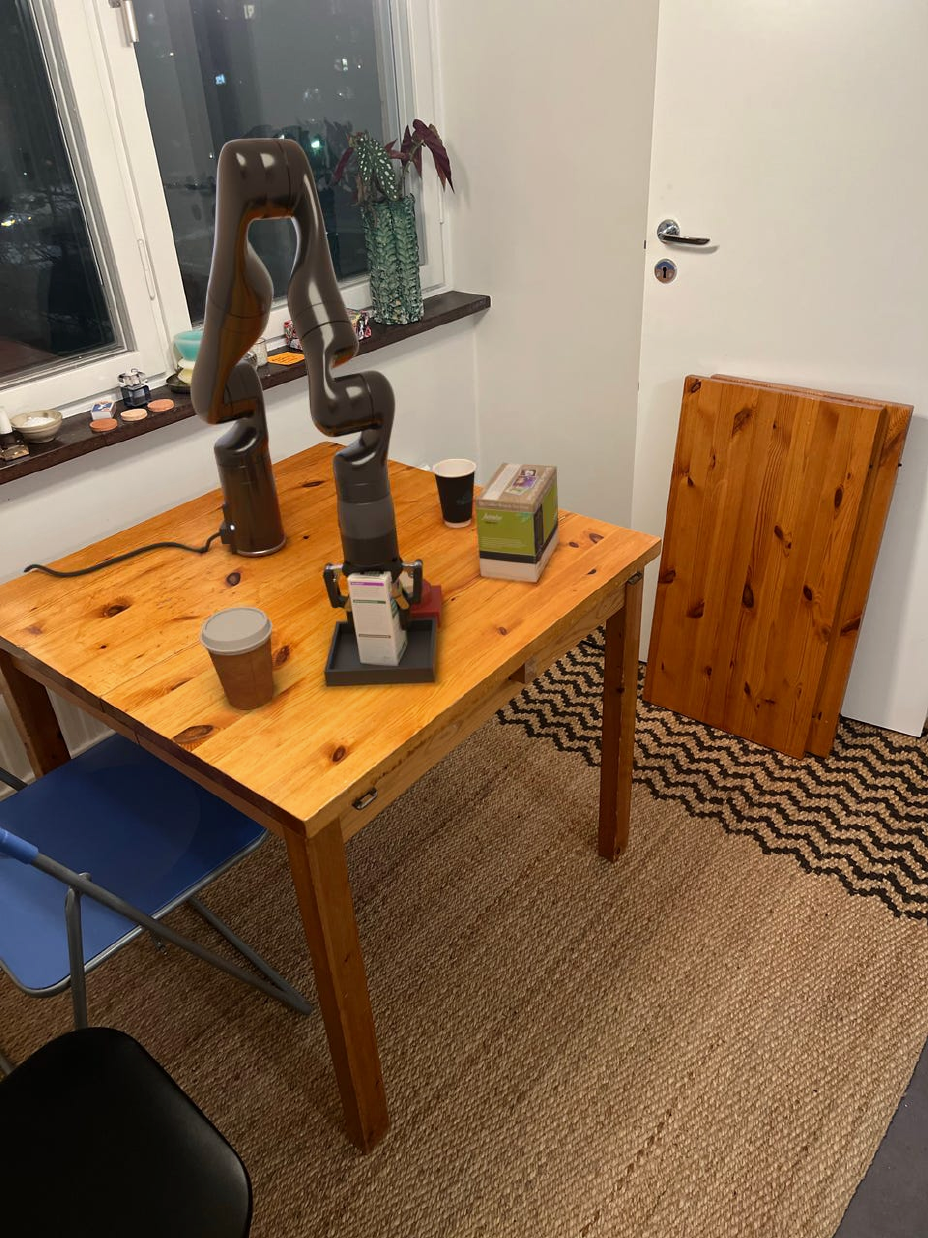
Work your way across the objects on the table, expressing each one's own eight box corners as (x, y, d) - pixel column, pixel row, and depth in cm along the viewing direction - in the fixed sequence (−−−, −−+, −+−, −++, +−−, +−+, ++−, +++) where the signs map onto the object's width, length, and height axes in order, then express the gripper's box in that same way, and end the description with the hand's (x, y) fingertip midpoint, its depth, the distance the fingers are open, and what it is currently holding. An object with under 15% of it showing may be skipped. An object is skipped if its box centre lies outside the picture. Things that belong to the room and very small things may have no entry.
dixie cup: (473, 532, 166) (469, 476, 160) (431, 529, 168) (426, 474, 162) (483, 514, 172) (480, 459, 167) (443, 511, 174) (439, 457, 168)
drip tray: (326, 687, 128) (324, 672, 127) (338, 635, 139) (336, 621, 138) (434, 682, 127) (433, 667, 126) (437, 631, 139) (436, 616, 137)
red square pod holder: (375, 630, 140) (372, 602, 137) (380, 603, 146) (376, 576, 144) (440, 628, 139) (438, 600, 137) (442, 601, 146) (440, 573, 143)
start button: (391, 598, 139) (390, 587, 138) (394, 583, 142) (392, 572, 141) (420, 597, 138) (419, 585, 137) (422, 582, 142) (421, 571, 141)
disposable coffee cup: (221, 679, 131) (204, 608, 125) (288, 673, 131) (274, 601, 125) (211, 720, 123) (192, 646, 117) (282, 713, 123) (267, 639, 117)
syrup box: (398, 667, 130) (388, 578, 122) (358, 664, 131) (346, 576, 123) (408, 645, 135) (399, 558, 127) (370, 642, 136) (358, 556, 128)
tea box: (505, 537, 164) (502, 460, 156) (560, 543, 160) (559, 464, 153) (478, 577, 152) (473, 496, 144) (536, 585, 149) (535, 502, 141)
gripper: (422, 508, 125) (431, 612, 134) (318, 513, 125) (334, 617, 134) (419, 533, 118) (429, 641, 127) (309, 538, 119) (327, 645, 128)
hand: (380, 628), depth 131 cm, fingers closed on syrup box, 6 cm apart
